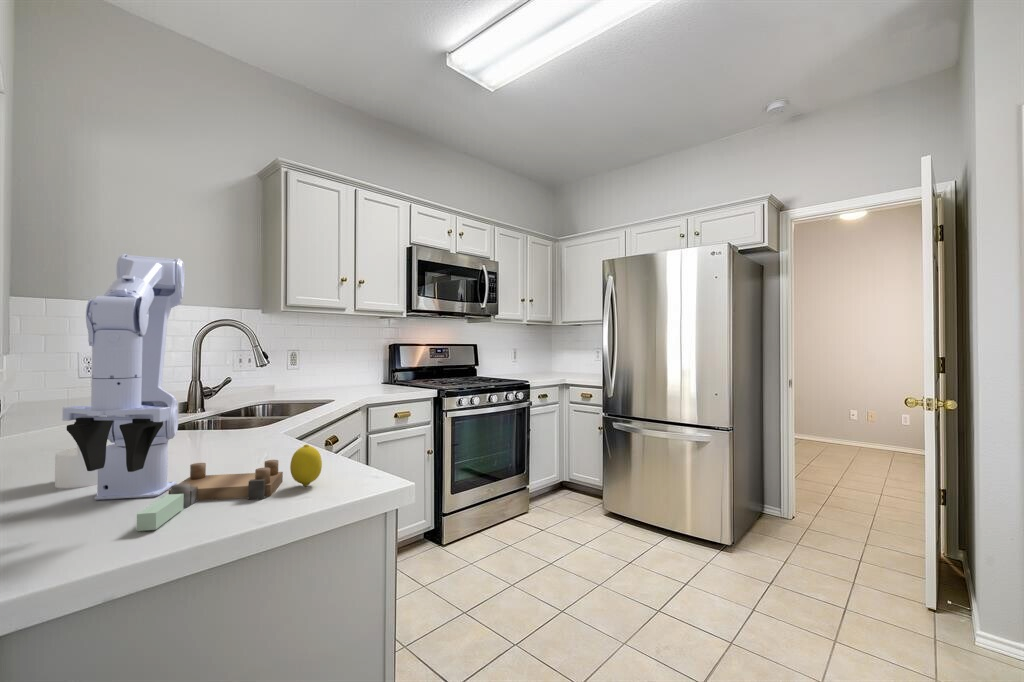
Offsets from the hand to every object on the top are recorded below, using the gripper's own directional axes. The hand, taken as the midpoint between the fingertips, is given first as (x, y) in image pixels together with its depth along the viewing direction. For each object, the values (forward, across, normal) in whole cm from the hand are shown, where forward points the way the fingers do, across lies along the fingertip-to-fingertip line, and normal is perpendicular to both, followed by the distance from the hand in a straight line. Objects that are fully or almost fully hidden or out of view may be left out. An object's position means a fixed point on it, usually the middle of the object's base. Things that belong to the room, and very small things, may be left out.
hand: (115, 469), depth 70 cm
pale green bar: (+8, +5, +3) cm, 10 cm away
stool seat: (+8, +7, +15) cm, 19 cm away
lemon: (+9, +19, +21) cm, 30 cm away
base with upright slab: (+9, -25, +22) cm, 35 cm away
